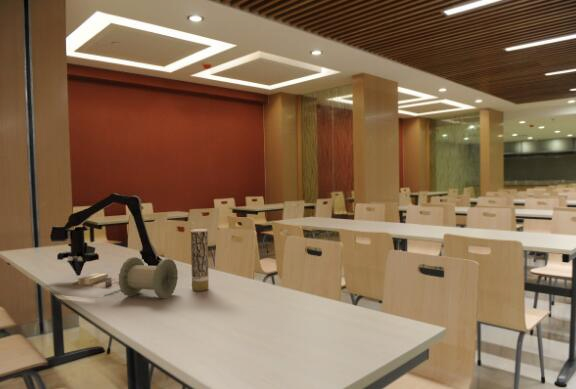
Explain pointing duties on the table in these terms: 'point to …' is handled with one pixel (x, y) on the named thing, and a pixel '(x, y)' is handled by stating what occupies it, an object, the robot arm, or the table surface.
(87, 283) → the maple plate
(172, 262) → the spool
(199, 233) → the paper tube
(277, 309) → the table surface
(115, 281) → the board
